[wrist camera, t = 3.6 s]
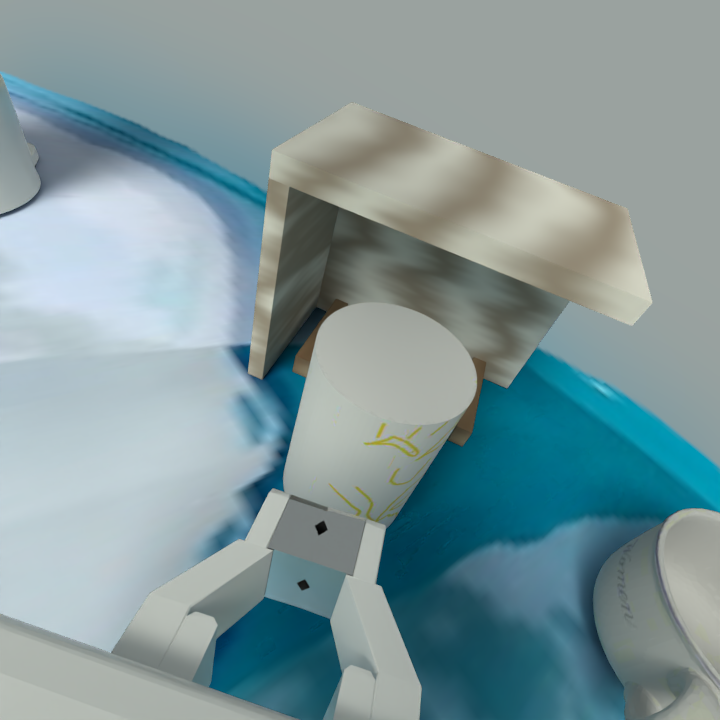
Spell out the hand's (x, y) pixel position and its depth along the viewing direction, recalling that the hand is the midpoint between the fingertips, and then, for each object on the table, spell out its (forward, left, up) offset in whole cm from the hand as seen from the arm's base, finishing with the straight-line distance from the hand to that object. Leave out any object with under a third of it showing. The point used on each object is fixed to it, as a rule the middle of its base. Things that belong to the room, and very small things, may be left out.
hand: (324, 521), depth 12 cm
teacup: (+20, +8, -16) cm, 27 cm away
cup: (0, +11, -16) cm, 20 cm away
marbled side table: (0, +22, -16) cm, 27 cm away
